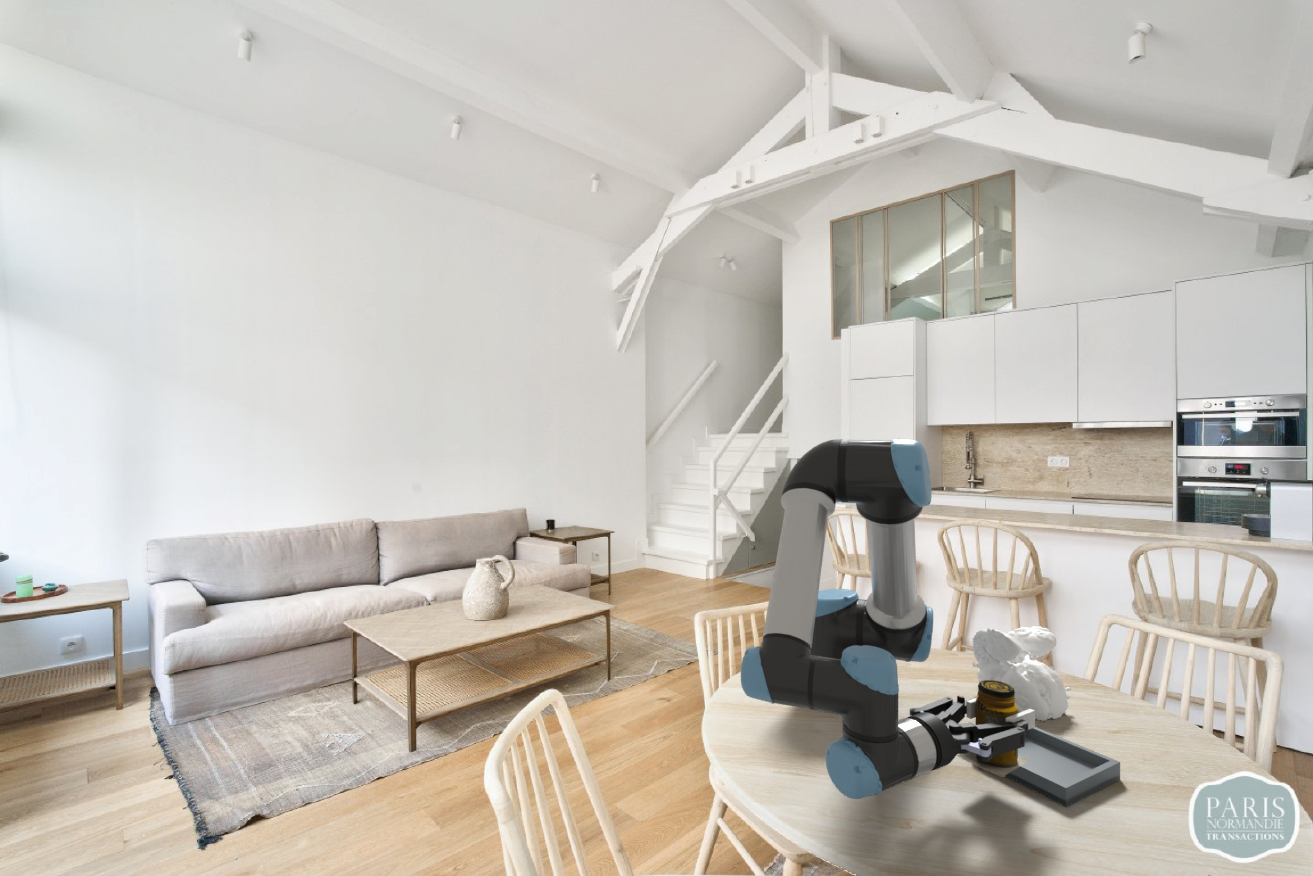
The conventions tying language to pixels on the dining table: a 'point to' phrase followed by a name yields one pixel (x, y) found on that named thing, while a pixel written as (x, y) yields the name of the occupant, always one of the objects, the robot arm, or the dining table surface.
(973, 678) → the dining table surface
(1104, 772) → the tray
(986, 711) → the condiment
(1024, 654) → the white lumpy sculpture
